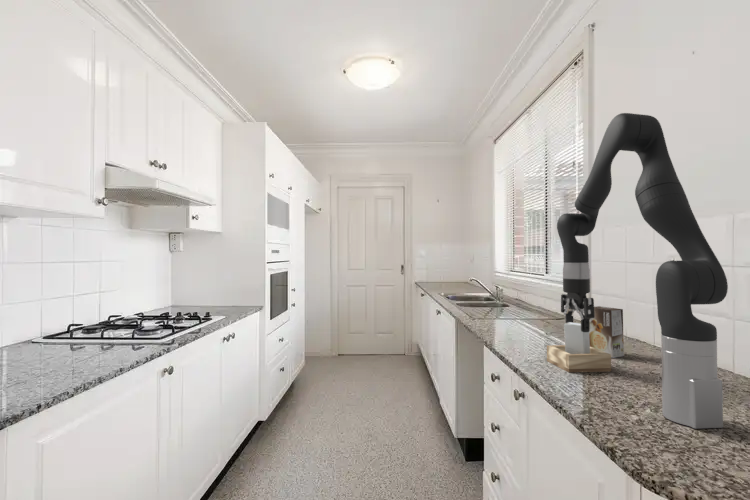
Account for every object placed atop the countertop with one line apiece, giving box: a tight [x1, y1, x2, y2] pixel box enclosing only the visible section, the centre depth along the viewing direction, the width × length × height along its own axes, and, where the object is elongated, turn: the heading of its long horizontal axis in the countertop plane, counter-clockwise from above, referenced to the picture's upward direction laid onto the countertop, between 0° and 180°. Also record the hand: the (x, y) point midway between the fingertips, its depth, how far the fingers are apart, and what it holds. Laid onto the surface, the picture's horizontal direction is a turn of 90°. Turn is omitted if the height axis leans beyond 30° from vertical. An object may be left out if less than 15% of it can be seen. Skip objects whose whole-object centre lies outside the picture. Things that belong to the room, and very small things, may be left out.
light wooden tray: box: [546, 344, 612, 373], centre depth 125 cm, size 13×13×5 cm
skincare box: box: [563, 321, 590, 354], centre depth 125 cm, size 6×4×12 cm
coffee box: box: [589, 305, 625, 359], centre depth 140 cm, size 9×6×16 cm
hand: (577, 329), depth 125 cm, fingers open, 8 cm apart
